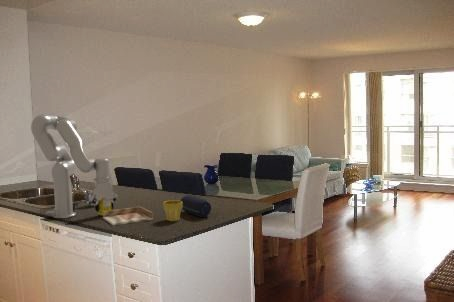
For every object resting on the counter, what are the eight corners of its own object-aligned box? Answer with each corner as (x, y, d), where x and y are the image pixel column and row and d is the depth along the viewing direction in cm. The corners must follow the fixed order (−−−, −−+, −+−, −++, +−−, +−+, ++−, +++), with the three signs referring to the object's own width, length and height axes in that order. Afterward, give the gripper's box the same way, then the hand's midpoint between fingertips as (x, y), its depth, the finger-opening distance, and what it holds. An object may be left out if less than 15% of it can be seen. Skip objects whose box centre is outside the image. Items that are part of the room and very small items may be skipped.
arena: (113, 225, 233) (112, 218, 232) (103, 218, 250) (102, 211, 249) (153, 219, 243) (152, 212, 243) (140, 213, 261) (140, 206, 260)
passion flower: (95, 215, 284) (86, 202, 276) (85, 210, 290) (77, 197, 283) (108, 203, 289) (100, 190, 282) (98, 198, 296) (90, 185, 289)
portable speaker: (214, 217, 246) (213, 199, 245) (198, 219, 241) (197, 201, 240) (193, 209, 267) (193, 192, 267) (178, 211, 262) (177, 194, 261)
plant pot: (186, 220, 240) (185, 202, 240) (169, 223, 235) (168, 204, 234) (177, 216, 249) (177, 199, 248) (160, 219, 243) (160, 201, 243)
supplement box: (105, 213, 262) (105, 195, 261) (112, 215, 258) (111, 196, 257) (97, 215, 257) (96, 196, 256) (103, 217, 253) (102, 197, 252)
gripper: (89, 182, 248) (90, 213, 250) (120, 179, 257) (121, 209, 258) (86, 180, 255) (87, 211, 256) (116, 177, 263) (117, 207, 265)
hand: (104, 210), depth 257 cm, fingers closed on supplement box, 7 cm apart
